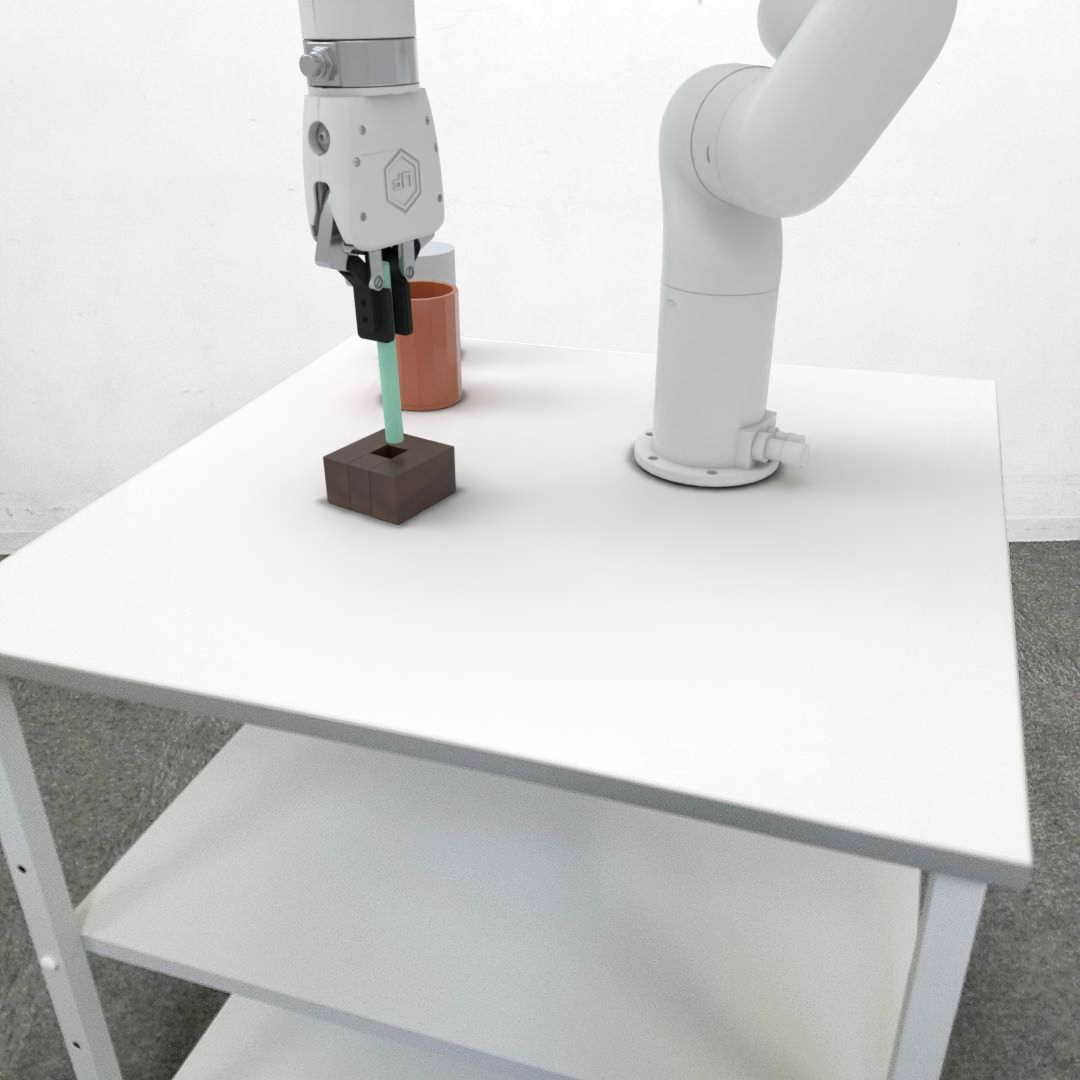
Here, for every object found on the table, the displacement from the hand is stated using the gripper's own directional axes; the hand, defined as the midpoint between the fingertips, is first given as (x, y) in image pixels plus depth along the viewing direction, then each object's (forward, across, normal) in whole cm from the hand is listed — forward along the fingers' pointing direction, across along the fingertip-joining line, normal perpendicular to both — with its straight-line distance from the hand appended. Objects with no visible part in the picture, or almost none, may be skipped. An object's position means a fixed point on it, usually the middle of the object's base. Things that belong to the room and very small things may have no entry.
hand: (385, 334), depth 78 cm
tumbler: (+14, +20, +13) cm, 27 cm away
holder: (+13, 0, 0) cm, 13 cm away
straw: (+9, 0, 0) cm, 9 cm away
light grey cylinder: (+14, +30, +22) cm, 40 cm away
